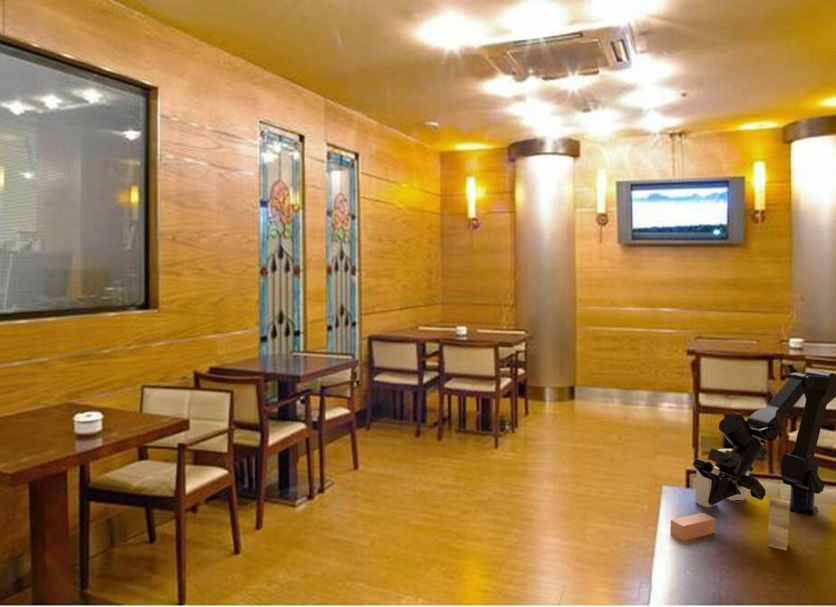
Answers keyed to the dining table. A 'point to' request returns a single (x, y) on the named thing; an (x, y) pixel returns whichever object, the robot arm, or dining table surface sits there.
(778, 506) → the birch post
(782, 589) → the dining table surface
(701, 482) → the grey post
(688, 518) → the terracotta block
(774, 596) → the dining table surface
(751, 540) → the dining table surface
